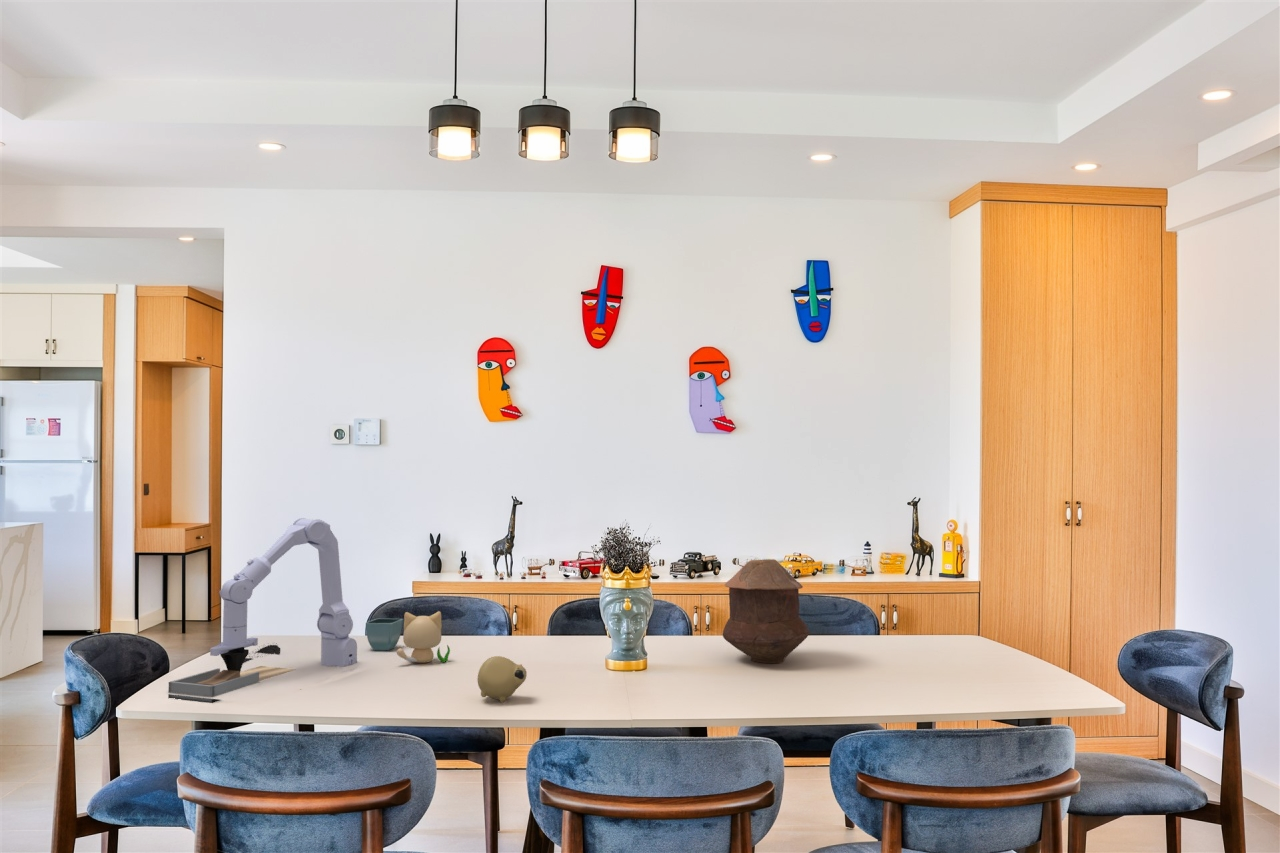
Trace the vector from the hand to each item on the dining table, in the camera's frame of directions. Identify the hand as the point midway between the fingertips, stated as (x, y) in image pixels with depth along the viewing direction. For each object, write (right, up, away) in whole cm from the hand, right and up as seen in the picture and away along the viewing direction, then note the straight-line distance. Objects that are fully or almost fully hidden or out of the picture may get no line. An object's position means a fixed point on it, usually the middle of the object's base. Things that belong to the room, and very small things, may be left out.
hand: (233, 678), depth 231 cm
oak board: (+3, -3, +8) cm, 9 cm away
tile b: (-2, -1, -8) cm, 9 cm away
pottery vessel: (+144, -4, +33) cm, 147 cm away
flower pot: (+25, -5, +48) cm, 54 cm away
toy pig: (+72, -2, -12) cm, 73 cm away
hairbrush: (-8, -4, +28) cm, 29 cm away
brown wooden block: (-1, -1, -3) cm, 3 cm away
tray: (-2, -2, -6) cm, 7 cm away
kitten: (+43, -4, +29) cm, 52 cm away
